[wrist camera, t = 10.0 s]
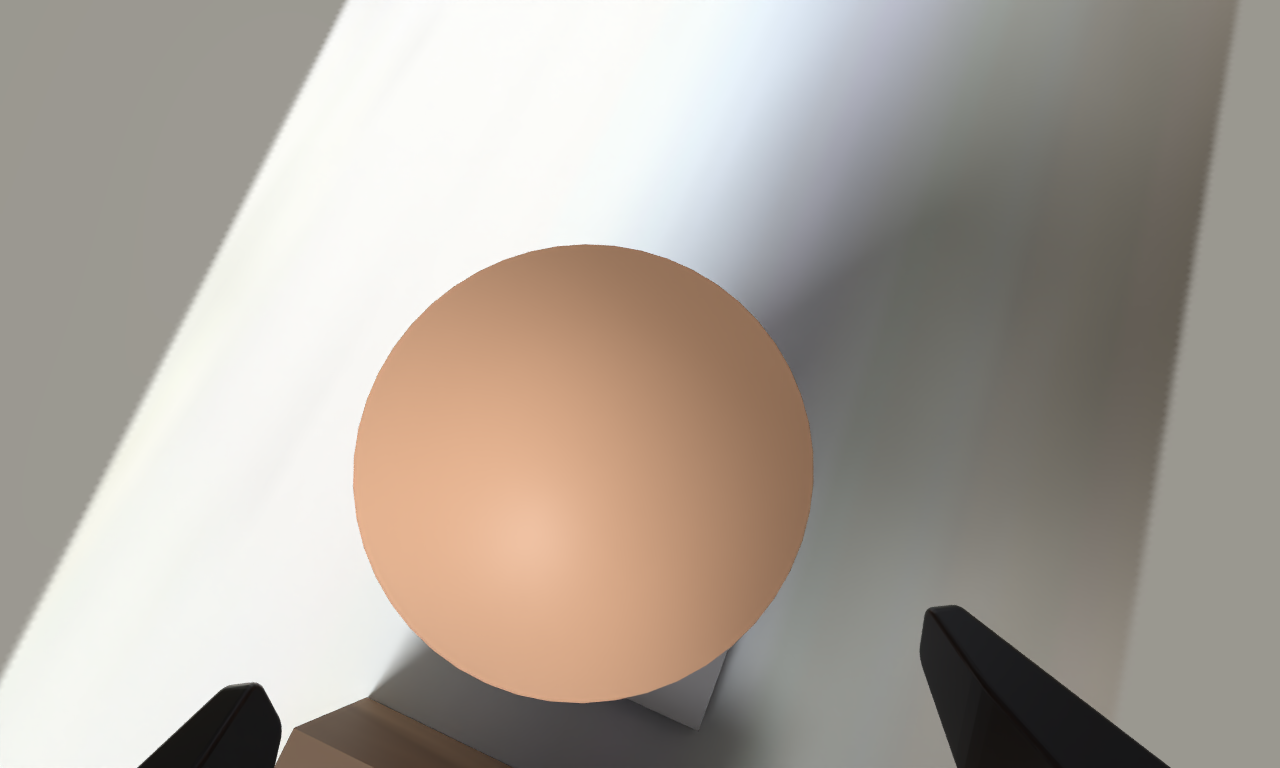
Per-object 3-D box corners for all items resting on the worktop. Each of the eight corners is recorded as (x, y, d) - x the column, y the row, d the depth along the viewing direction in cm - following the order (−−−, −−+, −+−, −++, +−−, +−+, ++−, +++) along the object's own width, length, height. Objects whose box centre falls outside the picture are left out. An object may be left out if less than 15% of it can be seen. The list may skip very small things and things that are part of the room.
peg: (710, 599, 19) (858, 662, 6) (544, 624, 19) (363, 740, 6) (684, 436, 20) (766, 220, 8) (527, 459, 20) (344, 274, 7)
